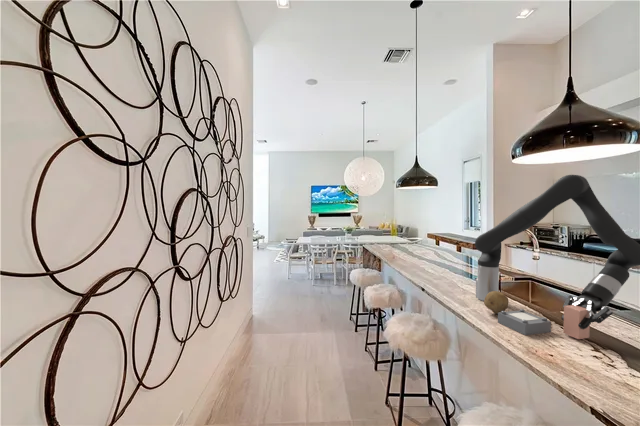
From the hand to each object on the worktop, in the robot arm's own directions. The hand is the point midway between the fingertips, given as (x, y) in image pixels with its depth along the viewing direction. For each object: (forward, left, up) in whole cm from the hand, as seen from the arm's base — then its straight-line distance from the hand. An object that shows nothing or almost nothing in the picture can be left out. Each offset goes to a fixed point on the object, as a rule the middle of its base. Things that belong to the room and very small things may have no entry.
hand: (572, 323), depth 102 cm
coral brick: (0, +2, -4) cm, 5 cm away
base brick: (-12, -8, -5) cm, 15 cm away
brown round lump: (-26, -7, -5) cm, 27 cm away
